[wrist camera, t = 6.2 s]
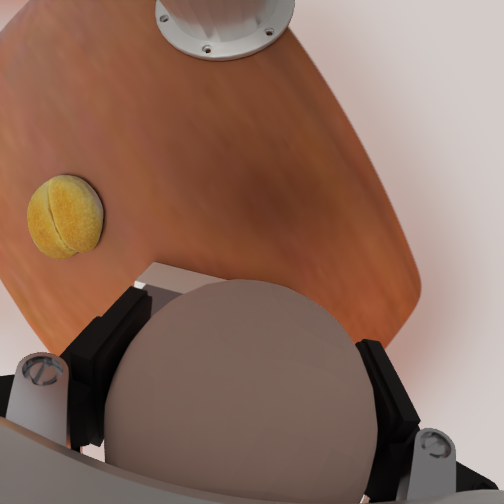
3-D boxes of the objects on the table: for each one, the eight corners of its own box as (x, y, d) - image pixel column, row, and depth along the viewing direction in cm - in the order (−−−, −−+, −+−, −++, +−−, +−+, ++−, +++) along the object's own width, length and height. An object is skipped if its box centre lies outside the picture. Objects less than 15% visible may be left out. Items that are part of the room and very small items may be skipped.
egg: (213, 206, 10) (25, 415, 2) (373, 301, 11) (499, 521, 2) (137, 349, 12) (33, 540, 3) (276, 416, 13) (277, 611, 4)
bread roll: (117, 240, 30) (98, 252, 26) (53, 260, 31) (33, 272, 27) (93, 160, 28) (71, 162, 24) (32, 189, 29) (9, 195, 25)
